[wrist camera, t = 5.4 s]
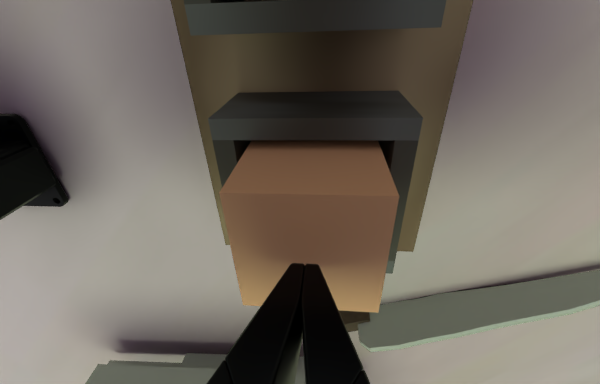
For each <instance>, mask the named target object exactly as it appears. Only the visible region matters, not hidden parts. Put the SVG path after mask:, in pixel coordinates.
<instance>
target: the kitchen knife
mask: <svg viewBox="0 0 600 384" xmlns="http://www.w3.org/2000/svg"><path fill="white" fill-rule="evenodd" d="M599 305H600V270H596V271H589V272H583V273H577V274H571V275H565V276H559V277H553V278H546V279H540V280H534V281H528V282H522V283H516V284H510V285H502V286H495V287H488V288H480V289H473V290H465V291H457V292H449V293H441V294H436V295H432V296H427V297H423V298H418V299H411V300H404V301H398V302H393V303H388V304H382V305H380V307H379V312H378V313H376V312H358V311H340V310H339V313H340V315H341V317H342V320H343V322H344V324H345V327H346V329H347V331H348V332H351V331H357V330H358V332H359V341H360V343H361V345H362V346H363V347H365V348H366V349H367V350H369V351H370V352H377V351H387V350H397V349H403V348H408V347H412V346H416V345H421V344H425V343H430V342H435V341H441V340H447V339H452V338H458V337H462V336H466V335H470V334H475V333H479V332H483V331H488V330H492V329H497V328H502V327H507V326H512V325H517V324H522V323H527V322H532V321H538V320H543V319H548V318H554V317H559V316H564V315H569V314H573V313H576V312H579V311H583V310H586V309H589V308H593V307H596V306H599ZM302 338H303V335H302Z"/></svg>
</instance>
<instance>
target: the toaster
mask: <svg viewBox="0 0 600 384" xmlns="http://www.w3.org/2000/svg"><path fill="white" fill-rule="evenodd" d="M226 355H227V354H197V353H186V355H185V357H184V360H183V362H182V363H166V362H139V361H112V360H110V361H109V363H108V364H107V365H104V364H98V365H97V367H96V368H95V370H94V371H93V373H92V374H91V376H90V377H89V379H88V380H87V382H86V383H85V384H206V383H207V382H208V381H209V379H210V378H211V377H212V375H213V374H214V372H215V371H216V370H217V368H218V367H219V365H220V364H221V362H222V361H223V360H225V357H226ZM294 384H305V370H304V357H299V361H298V366H297V372H296V378H295V383H294Z"/></svg>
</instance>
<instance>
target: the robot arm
mask: <svg viewBox="0 0 600 384" xmlns="http://www.w3.org/2000/svg"><path fill="white" fill-rule="evenodd" d="M67 202H68V198H67V196H66V194H65V192H64V190H63V189H62V187H61V185H60V183H59V181H58V180H57V178H56V176H55V174H54V172H53V170H52V169H51V167H50V165H49V163H48V161H47V160H46V158H45V156H44V154H43V152H42V150H41V149H40V147H39V145H38V143H37V141H36V140H35V138H34V136H33V134H32V132H31V131H30V129H29V127H28V125H27V123H26V122H25V120H24V119H23V118H22V117H21V116H19V115H17V114H0V220H1V219H3V218H4V217H6V216H7V215H9V214H11V213H12V212H14V211H15V210H17V209H19V208H20V207H22V206H58V207H60V206H63V205H64V204H66V203H67ZM302 335H303V353H304V370H305V384H370V382H369V380H368V377H367V375H366V373H365V371H364V370H363V366H362V364H361V361H360V359H359V357H358V354H357V352H356V350H355V347H354V345H353V343H352V341H351V338H350V336H349V334H348V331H347V329H346V327H345V324H344V322H343V320H342V317H341V315H340V313H339V310H338V308H337V306H336V303H335V301H334V299H333V296H332V294H331V292H330V289H329V287H328V285H327V282H326V280H325V278H324V275H323V273H322V271H321V268H320V266H319V265H318V264H309V263H307V264H305V265H304V264H303V263H291V264H290V265H289V267H288V268H287V270H286V271H285V273H284V274H283V275H282V277H281V278H280V280H279V281H278V283H277V284H276V285H275V287H274V288H273V290H272V291H271V293H270V294H269V295H268V297H267V298H266V300H265V301H264V303H263V304H262V305H261V307H260V308H259V310H258V311H257V313H256V314H255V315H254V317H253V318H252V320H251V321H250V323H249V324H248V325H247V327H246V328H245V330H244V331H243V333H242V334H241V335H240V337H239V338H238V340H237V341H236V343H235V344H234V345H233V347H232V348H231V350H230V351H229V353H228V354H227V355H226V357H225V360H223V361H222V362H221V364H220V365H219V367H218V368H217V370H216V371H215V372H214V374H213V375H212V377H211V378H210V379H209V381H208V382H207V383H206V384H294V383H295V378H296V372H297V366H298V361H299V355H300V349H301V343H302Z"/></svg>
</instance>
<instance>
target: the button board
mask: <svg viewBox="0 0 600 384" xmlns="http://www.w3.org/2000/svg"><path fill="white" fill-rule="evenodd" d="M472 3H473V0H171V4H172V8H173V13H174V17H175V21H176V26H177V30H178V35H179V39H180V44H181V48H182V53H183V57H184V61H185V66H186V70H187V75H188V79H189V84H190V88H191V92H192V97H193V101H194V106H195V110H196V115H197V119H198V123H199V128H200V132H201V137H202V141H203V146H204V150H205V155H206V159H207V163H208V168H209V172H210V177H211V181H212V186H213V190H214V194H215V199H216V203H217V208H218V212H219V217H220V221H221V226H222V230H223V234H224V239H225V243H226V245H230V241H229V236H228V232H227V227H226V222H225V218H224V213H223V208H222V204H221V199H220V194H219V192H220V191H221V189H222V187H223V186H224V184H225V182H226V181H227V179H228V178H229V176H230V174H231V173H232V171H233V169H234V168H235V166H236V165H237V163H238V161H239V160H240V158H241V157H242V155H243V153H244V152H245V150H246V148H247V147H248V145H249V144H250V142H251V140H363V141H378V142H379V145H380V147H381V150H382V152H383V155H384V158H385V160H386V163H387V165H388V168H389V171H390V173H391V176H392V178H393V181H394V184H395V186H396V189H397V191H398V194H399V201H398V206H397V212H396V218H395V223H394V229H393V234H392V240H391V245H390V251H389V257H388V262H387V268H386V273H393V268H394V263H395V258H396V253H397V251H412V252H413V250H414V246H415V242H416V238H417V233H418V229H419V225H420V221H421V217H422V212H423V208H424V204H425V200H426V196H427V192H428V187H429V183H430V179H431V175H432V171H433V166H434V162H435V158H436V154H437V150H438V146H439V141H440V137H441V133H442V129H443V125H444V120H445V116H446V112H447V108H448V104H449V100H450V95H451V91H452V87H453V83H454V79H455V74H456V70H457V66H458V62H459V58H460V54H461V49H462V45H463V41H464V37H465V33H466V28H467V24H468V20H469V16H470V12H471V7H472Z"/></svg>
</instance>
